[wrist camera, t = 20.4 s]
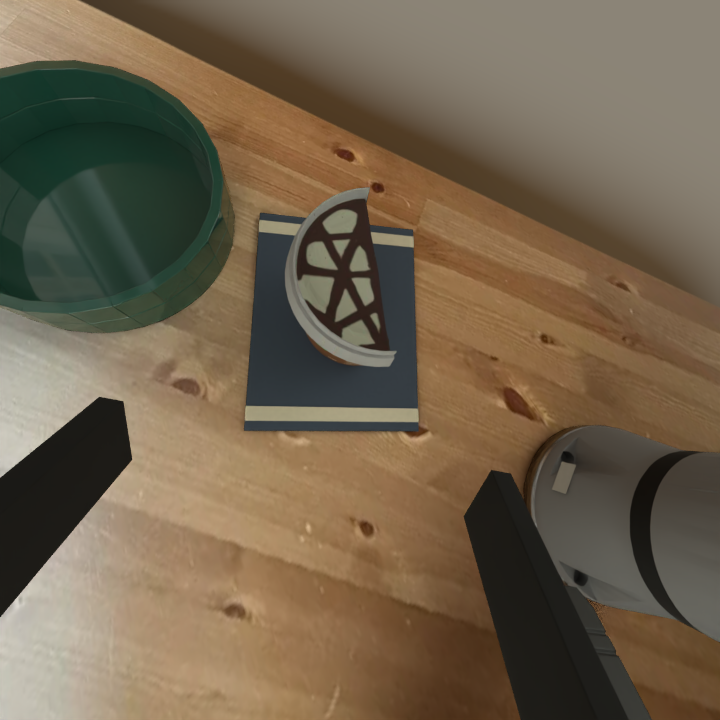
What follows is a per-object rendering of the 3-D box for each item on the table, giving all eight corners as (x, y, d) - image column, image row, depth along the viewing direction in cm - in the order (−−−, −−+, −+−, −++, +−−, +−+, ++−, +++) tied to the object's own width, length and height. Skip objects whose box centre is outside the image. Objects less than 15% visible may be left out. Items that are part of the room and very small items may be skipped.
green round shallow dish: (242, 137, 32) (232, 87, 28) (224, 339, 28) (209, 321, 24) (-2, 100, 29) (-62, 36, 24) (-62, 325, 25) (-149, 301, 20)
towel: (411, 231, 34) (413, 229, 33) (417, 431, 30) (418, 431, 29) (260, 215, 31) (259, 212, 31) (244, 430, 27) (243, 430, 27)
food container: (282, 257, 30) (273, 179, 21) (347, 254, 32) (368, 180, 22) (296, 390, 28) (294, 372, 19) (366, 381, 30) (398, 360, 20)
